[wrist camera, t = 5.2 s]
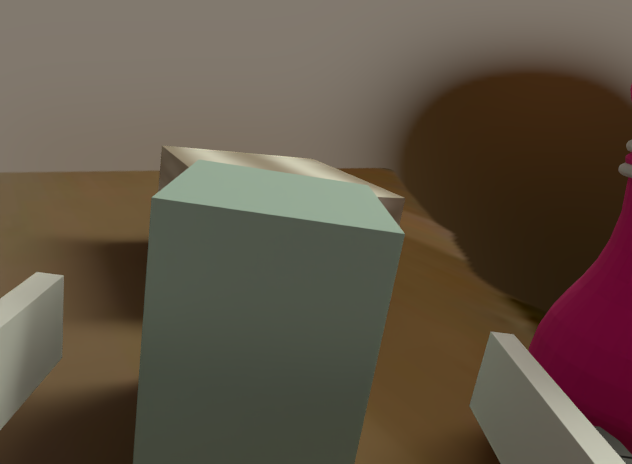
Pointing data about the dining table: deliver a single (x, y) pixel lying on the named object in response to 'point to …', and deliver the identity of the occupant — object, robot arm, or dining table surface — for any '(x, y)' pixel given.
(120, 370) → the dining table surface
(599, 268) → the pepper mill
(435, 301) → the dining table surface
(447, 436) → the dining table surface
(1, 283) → the dining table surface
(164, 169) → the top block
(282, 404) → the sage block
